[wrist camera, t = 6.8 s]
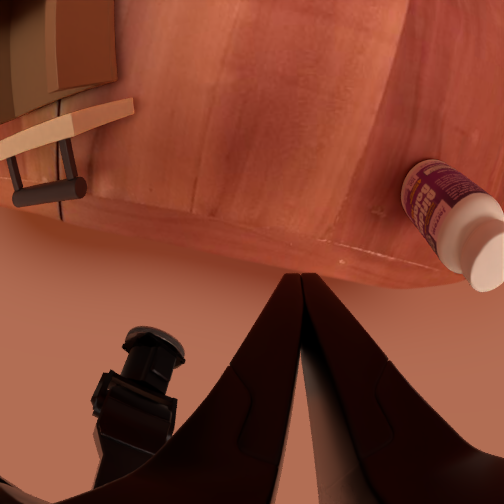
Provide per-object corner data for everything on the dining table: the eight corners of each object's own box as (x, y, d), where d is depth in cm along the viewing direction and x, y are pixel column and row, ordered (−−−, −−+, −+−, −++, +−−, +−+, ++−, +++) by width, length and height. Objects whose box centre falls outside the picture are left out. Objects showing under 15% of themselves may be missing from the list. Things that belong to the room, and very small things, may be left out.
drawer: (143, 172, 19) (93, 217, 13) (29, 190, 20) (-20, 228, 14) (130, -67, 8) (81, -100, 2) (11, -3, 9) (-44, -2, 3)
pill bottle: (392, 167, 18) (462, 236, 10) (449, 150, 17) (533, 206, 9) (403, 229, 21) (457, 314, 13) (456, 211, 19) (521, 283, 11)
